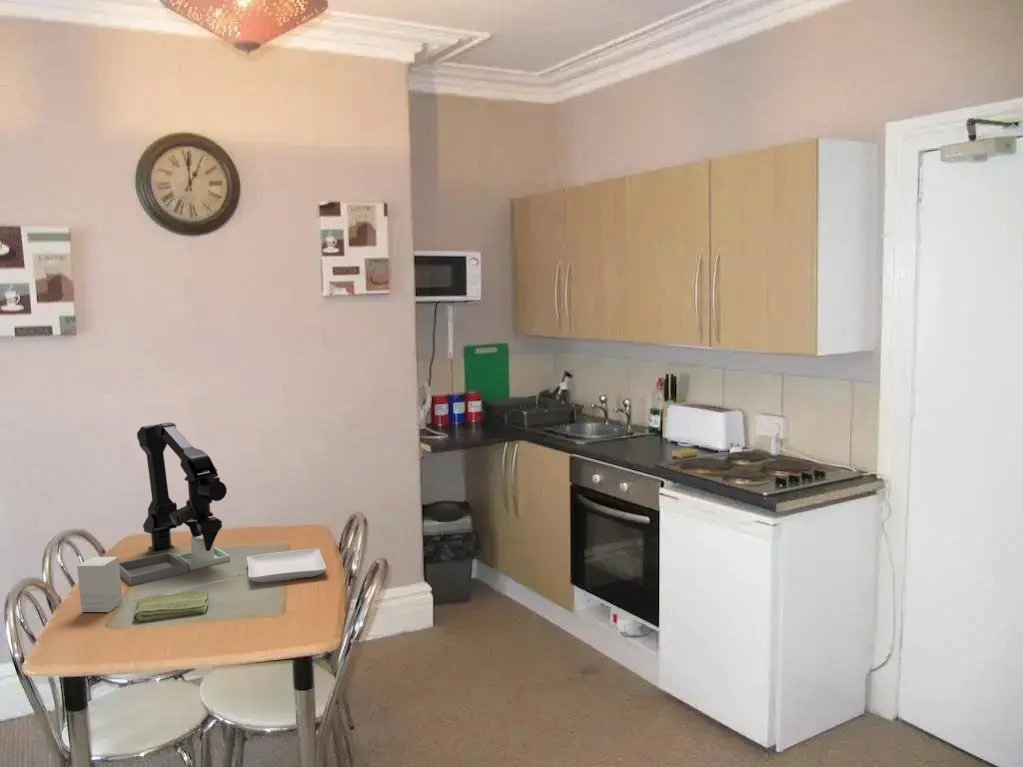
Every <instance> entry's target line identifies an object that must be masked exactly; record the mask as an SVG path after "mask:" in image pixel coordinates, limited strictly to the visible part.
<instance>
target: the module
mask: <svg viewBox="0 0 1023 767" xmlns="http://www.w3.org/2000/svg"><path fill="white" fill-rule="evenodd" d="M214 547H215V544H214V543H213V545H212V547H211V549H210V551H206V548H205V544H204V540H203V535H201V536H197V537H193V536H192V537H190V552H191V553H192V561H194V562H200V561H204V560H209V559H213V558H214Z"/></svg>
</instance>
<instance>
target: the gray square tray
mask: <svg viewBox="0 0 1023 767" xmlns="http://www.w3.org/2000/svg"><path fill="white" fill-rule="evenodd" d="M119 568H120V578H121V579H123V580H124V581H125V582H127V583H128V584H129V586H134V585H139V584H143V583H147V582H152V581H156V580H161V579H166V578H170V577H174V576H178V575H179V576H180V575H182V574H187V573H189V569H188V565H187V564H186V563H185V562H183V561H182V560H181V559H179V558H178V557H176V554H173V553H172V552H170V551H169V552H164V553H163V552H162V553H159V554H154V555H149V556H146V557H145V556H144V557H141V558H135V559H131V560H126V561H125V560H124V561H121V562H120V561H119Z"/></svg>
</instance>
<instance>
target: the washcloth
mask: <svg viewBox="0 0 1023 767" xmlns="http://www.w3.org/2000/svg"><path fill="white" fill-rule="evenodd" d="M208 597H209V591H205V590H195V591H194V590H188V591H183V592H176V593H170V594H158V595H152V596H151V595H149V596H145V597H143V598H140V599H138V601H137V602H136V607H135V610H134V612H133V614H132V615H133V616H132V620H133V621H134V622H135V623H141V622H142V621H143V622H153V621H158V620H157V619H159V620H165V619H164V618H167V619H170V618H169V617H172V618H176V617H175V616H179V617H183V616H182V615H185V616H190V615H189V614H192V615H198V614H197V613H201V614H203V613H202V612H205V613H206V612H207V607H208V605H209V599H208ZM194 613H196V614H194ZM152 620H153V621H152ZM143 622H142V623H143Z"/></svg>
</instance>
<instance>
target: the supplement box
mask: <svg viewBox="0 0 1023 767" xmlns="http://www.w3.org/2000/svg"><path fill="white" fill-rule="evenodd" d="M119 560H120V559H119V556H93V557H91V558H90V557H89V558H88V559H87V560H84V562H81V563H79V565H77V566H76V567H77V576H78V578H77V579H78V588H79V596H80V606H81V613H82V612H108V613H110V612H112V611H113V610H114V609H116V608H117V607H119V606H121V605H122V604H123V592H122V581H121V579H122V578H121V576H120V568H119V563H120V561H119ZM115 607H116V608H115ZM112 609H113V610H112ZM109 611H110V612H109Z"/></svg>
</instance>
